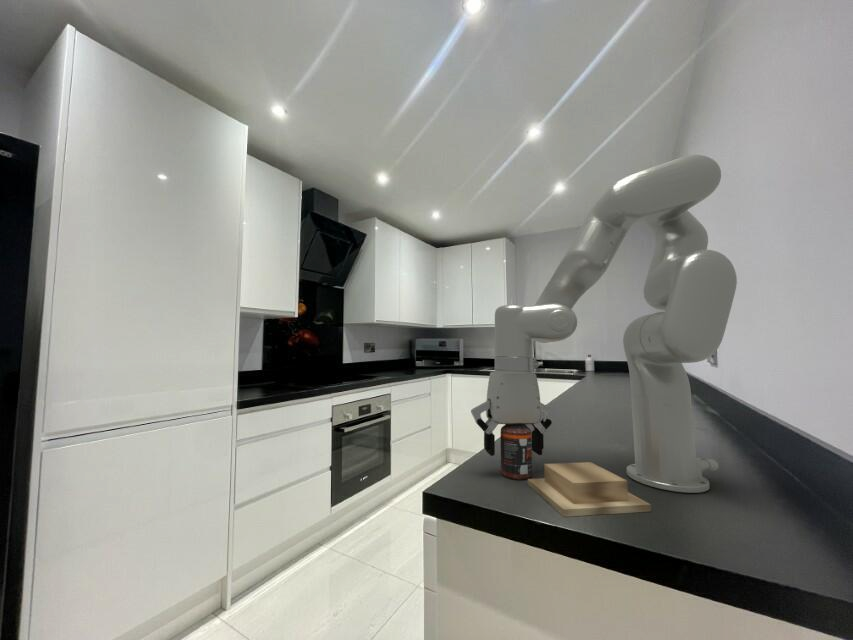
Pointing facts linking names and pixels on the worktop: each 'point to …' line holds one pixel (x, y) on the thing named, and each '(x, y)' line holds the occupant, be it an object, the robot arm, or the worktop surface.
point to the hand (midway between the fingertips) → (513, 453)
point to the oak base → (586, 507)
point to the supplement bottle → (516, 451)
